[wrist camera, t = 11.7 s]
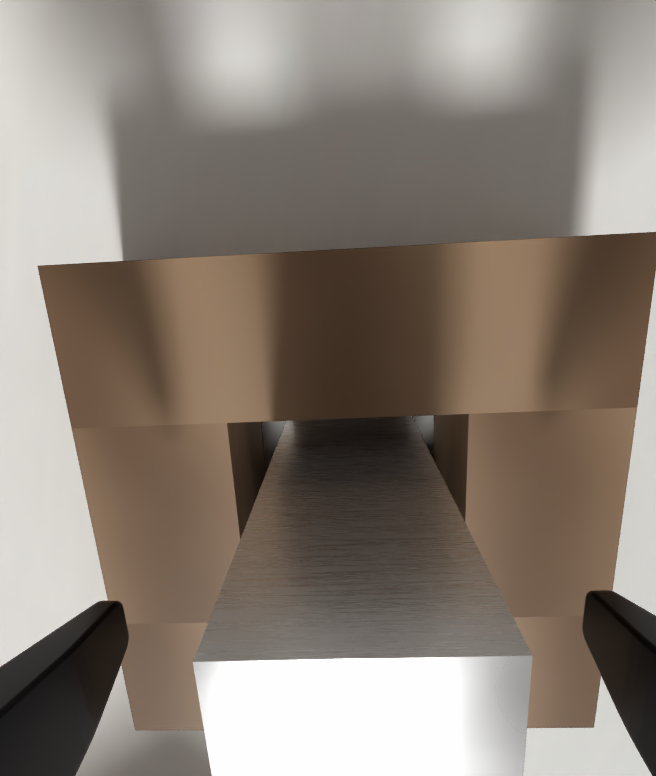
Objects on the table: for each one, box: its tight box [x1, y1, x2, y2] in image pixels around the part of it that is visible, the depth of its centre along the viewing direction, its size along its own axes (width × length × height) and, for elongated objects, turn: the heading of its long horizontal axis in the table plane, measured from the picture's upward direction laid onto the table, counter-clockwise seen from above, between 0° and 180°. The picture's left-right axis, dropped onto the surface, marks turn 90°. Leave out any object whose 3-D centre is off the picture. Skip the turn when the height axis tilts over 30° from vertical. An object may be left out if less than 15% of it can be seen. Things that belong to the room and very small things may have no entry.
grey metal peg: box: [193, 416, 532, 776], centre depth 10 cm, size 4×4×10 cm
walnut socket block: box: [38, 232, 656, 730], centre depth 13 cm, size 14×14×4 cm
